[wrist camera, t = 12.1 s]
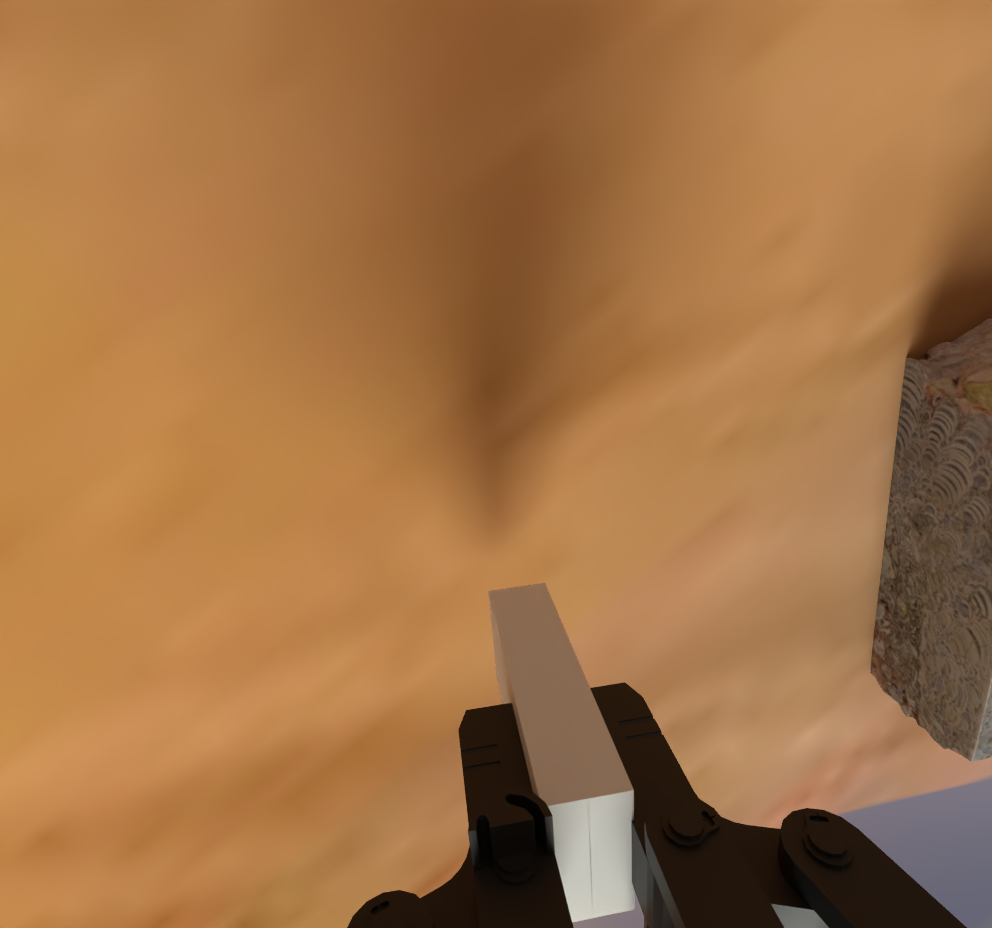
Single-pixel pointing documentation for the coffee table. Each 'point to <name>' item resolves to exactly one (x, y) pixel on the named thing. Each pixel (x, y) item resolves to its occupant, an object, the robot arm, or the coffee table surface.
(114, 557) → the coffee table surface
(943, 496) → the geological specimen
